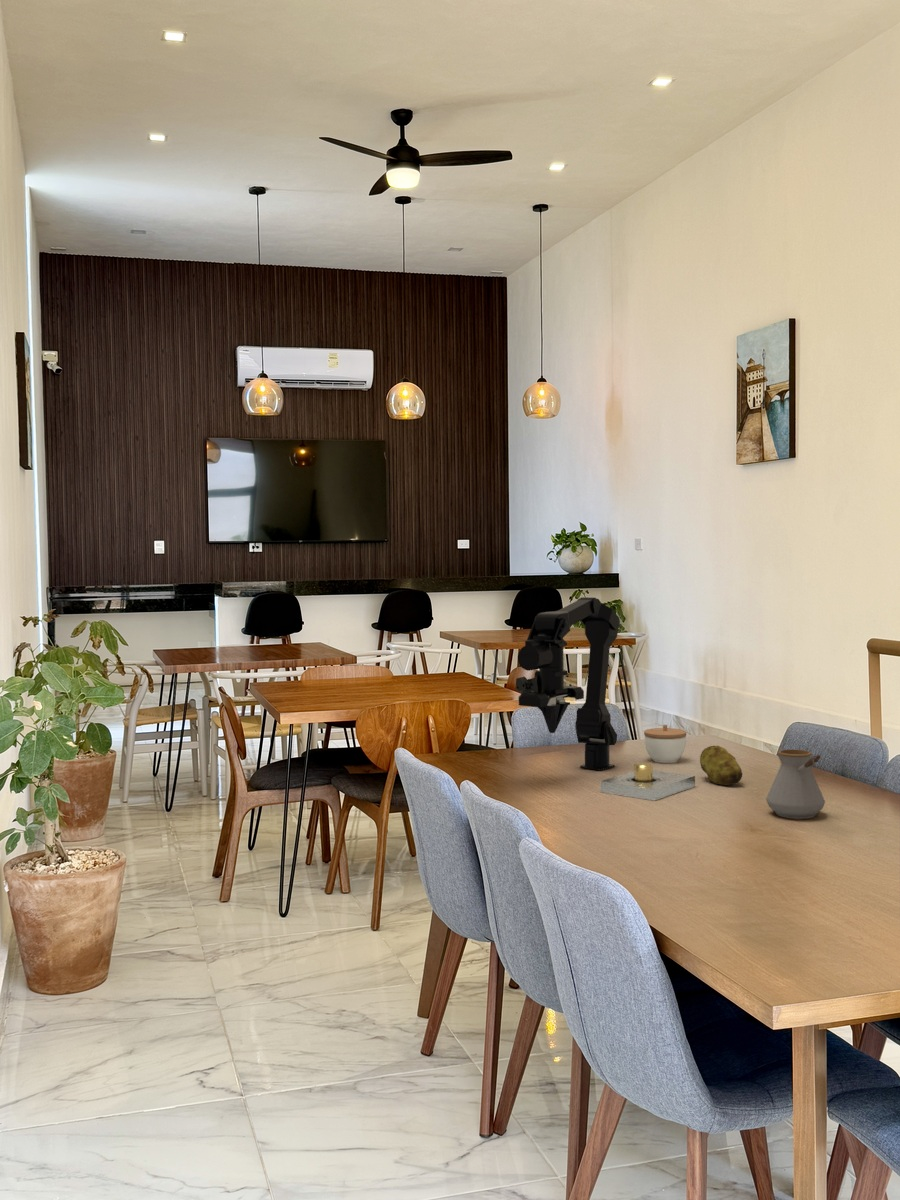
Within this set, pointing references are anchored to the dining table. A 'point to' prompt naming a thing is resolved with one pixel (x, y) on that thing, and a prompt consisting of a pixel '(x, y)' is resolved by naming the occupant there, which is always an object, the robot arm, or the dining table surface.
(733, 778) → the potato
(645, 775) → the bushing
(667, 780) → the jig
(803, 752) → the coffee pot
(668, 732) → the lidded jar
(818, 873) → the dining table surface
